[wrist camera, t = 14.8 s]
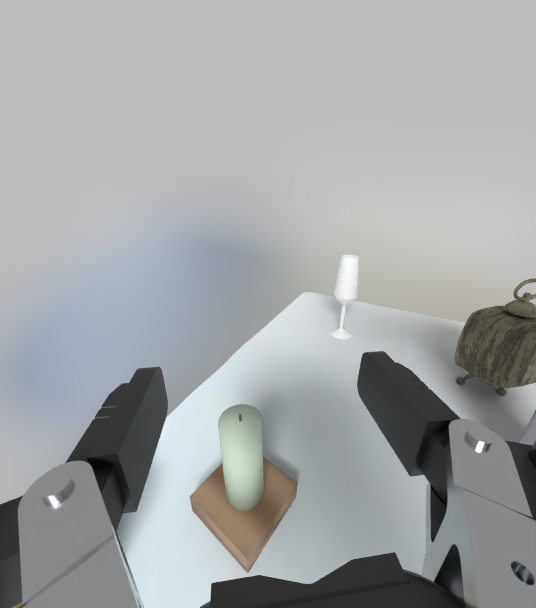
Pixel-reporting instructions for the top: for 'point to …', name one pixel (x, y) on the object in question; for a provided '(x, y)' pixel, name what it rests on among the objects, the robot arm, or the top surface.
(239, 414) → the candle
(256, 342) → the top surface
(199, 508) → the walnut block
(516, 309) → the tabletop clock
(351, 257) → the champagne flute
